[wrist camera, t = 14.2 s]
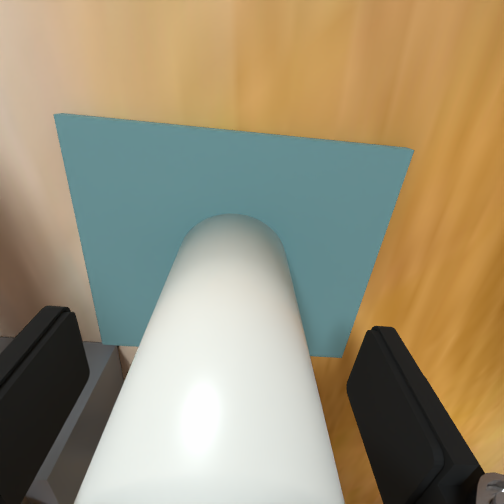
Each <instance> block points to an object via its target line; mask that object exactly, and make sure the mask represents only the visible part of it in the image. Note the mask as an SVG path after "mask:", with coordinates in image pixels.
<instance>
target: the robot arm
mask: <svg viewBox="0 0 504 504" xmlns="http://www.w3.org/2000/svg"><path fill="white" fill-rule="evenodd" d="M89 375H90V369H89V365H88V361H87V357H86V353H85V349H84V346H83V342H82V338H81V334H80V330H79V326H78V322H77V318H76V315H75V313H74V312H71V311H70V309H69V308H68V307H60V306H45V307H44V308H43V309H42V310H41V311H40V312H39V313H38V314H37V315H36V316H35V317H34V318H33V319H32V320H31V321H30V322H29V323H28V325H27V326H26V327H25V328H24V329H23V330H22V331H21V332H20V333H19V334H18V335H17V336H16V337H15V338H14V340H13V341H12V342H11V343H10V344H9V345H8V346H7V347H6V348H5V349H4V350H3V351H2V352H1V354H0V504H21V502H22V501H23V499H24V497H25V495H26V494H27V492H28V490H29V488H30V486H31V484H32V483H33V481H34V479H35V477H36V475H37V473H38V472H39V470H40V468H41V466H42V464H43V462H44V461H45V459H46V457H47V455H48V453H49V451H50V450H51V448H52V446H53V444H54V442H55V440H56V439H57V437H58V435H59V433H60V431H61V429H62V428H63V426H64V424H65V422H66V420H67V418H68V417H69V415H70V413H71V411H72V409H73V407H74V406H75V404H76V402H77V400H78V398H79V396H80V395H81V393H82V391H83V389H84V387H85V385H86V383H87V381H88V379H89ZM347 394H348V397H349V401H350V404H351V407H352V410H353V413H354V416H355V419H356V422H357V425H358V428H359V431H360V434H361V437H362V440H363V443H364V446H365V449H366V452H367V455H368V458H369V461H370V464H371V467H372V470H373V473H374V476H375V479H376V482H377V485H378V488H379V491H380V495H381V498H382V501H383V504H504V475H502V474H498V473H486V474H485V473H484V471H483V469H482V468H481V466H480V465H479V463H478V461H477V460H476V458H475V456H474V455H473V453H472V452H471V450H470V448H469V447H468V445H467V444H466V442H465V440H464V439H463V437H462V435H461V434H460V432H459V431H458V429H457V427H456V426H455V424H454V423H453V421H452V419H451V418H450V416H449V415H448V413H447V411H446V410H445V408H444V406H443V405H442V403H441V402H440V400H439V398H438V397H437V395H436V394H435V392H434V390H433V389H432V387H431V385H430V384H429V382H428V381H427V379H426V378H425V376H424V375H423V374H422V372H421V370H420V369H419V367H418V366H417V364H416V362H415V361H414V359H413V357H412V356H411V354H410V353H409V351H408V349H407V348H406V346H405V344H404V343H403V341H402V340H401V338H400V336H399V335H398V333H397V332H396V330H395V329H394V328H393V327H383V326H374V327H372V329H371V330H368V331H367V332H366V335H365V337H364V340H363V342H362V345H361V348H360V350H359V353H358V355H357V358H356V361H355V363H354V366H353V368H352V371H351V374H350V376H349V379H348V381H347Z"/></svg>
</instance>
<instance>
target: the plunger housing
mask: <svg viewBox="0 0 504 504" xmlns="http://www.w3.org/2000/svg"><path fill="white" fill-rule="evenodd" d="M13 340H14V338H9V337H0V354H1V352H2V351H3V350H4V349H5V348H6V347H7V346H8V345H9V344H10V343H11V342H12V341H13ZM83 346H84V349H85V353H86V357H87V361H88V365H89V369H90V375H89V379H88V381H87V383H86V385H85V387H84V389H83V391H82V393H81V395H80V396H79V398H78V400H77V402H76V404H75V406H74V407H73V409H72V411H71V413H70V415H69V417H68V418H67V420H66V422H65V424H64V426H63V428H62V429H61V431H60V433H59V435H58V437H57V439H56V440H55V442H54V444H53V446H52V448H51V450H50V451H49V453H48V455H47V457H46V459H45V461H44V462H43V464H42V466H41V468H40V470H39V472H38V473H37V475H36V477H35V479H34V481H33V483H32V484H31V486H30V488H29V490H28V492H27V494H26V495H25V497H26V498H27V500H28V502H29V503H30V504H74V502H75V499H76V497H77V494H78V492H79V490H80V487H81V485H82V482H83V480H84V478H85V475H86V473H87V470H88V468H89V466H90V463H91V461H92V458H93V456H94V453H95V451H96V449H97V446H98V444H99V441H100V439H101V437H102V434H103V432H104V429H105V427H106V425H107V422H108V420H109V417H110V415H111V412H112V410H113V408H114V405H115V403H116V400H117V398H118V396H119V393H120V391H121V388H122V386H123V384H124V381H123V375H122V369H121V364H120V358H119V353H118V347H117V345H103V344H102V343H99V342H83Z"/></svg>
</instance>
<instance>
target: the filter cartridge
mask: <svg viewBox="0 0 504 504" xmlns="http://www.w3.org/2000/svg"><path fill="white" fill-rule="evenodd" d="M74 504H345V502H344V498H343V494H342V489H341V485H340V481H339V477H338V472H337V468H336V464H335V460H334V456H333V451H332V447H331V443H330V439H329V435H328V430H327V426H326V422H325V418H324V414H323V409H322V405H321V401H320V397H319V392H318V388H317V384H316V380H315V376H314V371H313V367H312V363H311V359H310V355H309V350H308V346H307V342H306V338H305V334H304V329H303V325H302V321H301V317H300V312H299V308H298V304H297V300H296V296H295V291H294V287H293V283H292V279H291V275H290V270H289V266H288V262H287V258H286V254H285V249H284V247H283V244H282V242H281V240H280V238H279V237H278V236H277V234H276V233H275V232H274V231H273V230H272V229H271V228H270V227H269V226H267V225H266V224H265V223H263V222H261V221H260V220H258V219H255V218H253V217H250V216H246V215H241V214H221V215H216V216H213V217H210V218H207V219H205V220H203V221H201V222H200V223H198V224H197V225H195V226H194V227H193V228H192V229H191V230H190V231H189V232H188V233H187V235H186V236H185V238H184V240H183V241H182V244H181V246H180V248H179V251H178V253H177V256H176V258H175V261H174V263H173V265H172V268H171V270H170V273H169V275H168V277H167V280H166V282H165V285H164V287H163V289H162V292H161V294H160V297H159V299H158V302H157V304H156V306H155V309H154V311H153V314H152V316H151V318H150V321H149V323H148V326H147V328H146V330H145V333H144V335H143V338H142V340H141V343H140V345H139V347H138V350H137V352H136V355H135V357H134V359H133V362H132V364H131V367H130V369H129V371H128V374H127V376H126V379H125V381H124V384H123V386H122V388H121V391H120V393H119V396H118V398H117V400H116V403H115V405H114V408H113V410H112V412H111V415H110V417H109V420H108V422H107V425H106V427H105V429H104V432H103V434H102V437H101V439H100V441H99V444H98V446H97V449H96V451H95V453H94V456H93V458H92V461H91V463H90V466H89V468H88V470H87V473H86V475H85V478H84V480H83V482H82V485H81V487H80V490H79V492H78V494H77V497H76V499H75V502H74Z"/></svg>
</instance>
